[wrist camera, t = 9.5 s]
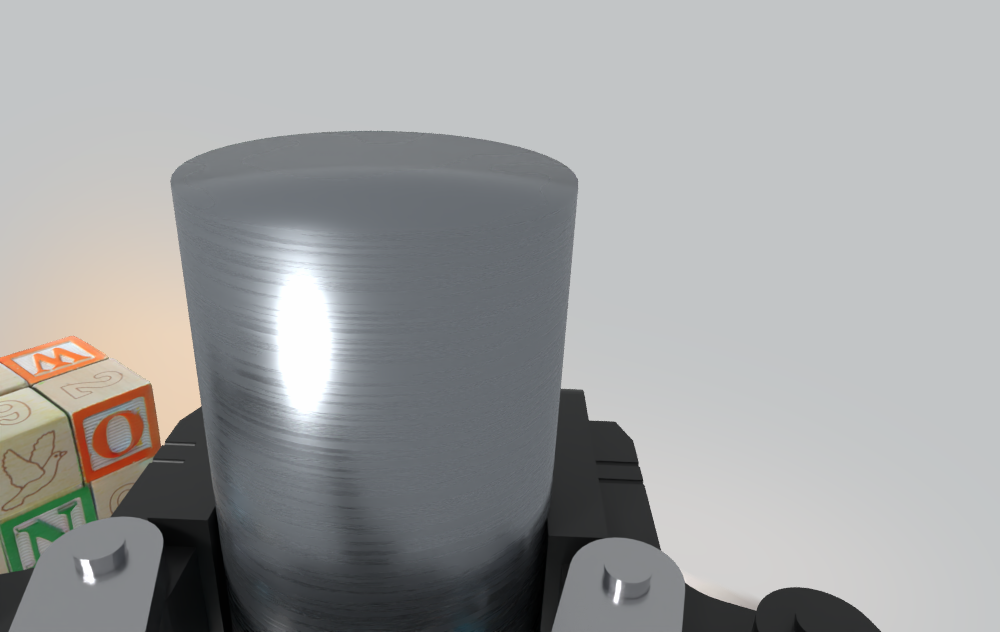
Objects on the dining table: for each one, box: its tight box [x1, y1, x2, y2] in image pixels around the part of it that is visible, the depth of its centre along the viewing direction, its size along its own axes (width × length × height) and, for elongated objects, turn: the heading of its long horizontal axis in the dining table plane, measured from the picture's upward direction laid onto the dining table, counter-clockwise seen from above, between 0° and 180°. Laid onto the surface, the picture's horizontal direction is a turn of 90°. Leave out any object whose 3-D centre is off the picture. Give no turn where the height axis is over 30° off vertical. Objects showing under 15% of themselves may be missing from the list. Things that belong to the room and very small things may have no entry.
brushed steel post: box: [171, 131, 578, 632], centre depth 10 cm, size 4×4×12 cm
